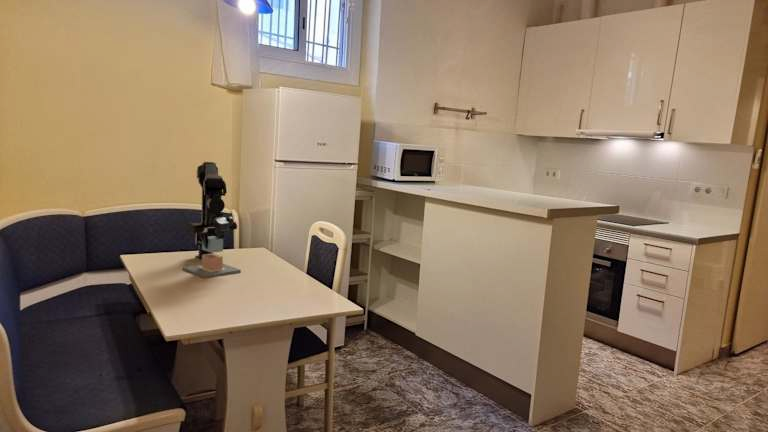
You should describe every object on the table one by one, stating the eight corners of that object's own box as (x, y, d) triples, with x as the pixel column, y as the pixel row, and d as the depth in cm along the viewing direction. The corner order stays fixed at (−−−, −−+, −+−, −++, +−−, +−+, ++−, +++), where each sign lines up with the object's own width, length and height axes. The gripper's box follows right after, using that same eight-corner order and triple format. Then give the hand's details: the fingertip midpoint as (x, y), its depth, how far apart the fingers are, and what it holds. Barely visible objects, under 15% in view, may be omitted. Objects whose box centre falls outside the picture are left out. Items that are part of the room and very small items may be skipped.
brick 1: (202, 249, 203) (202, 237, 202) (213, 248, 207) (213, 236, 206) (211, 252, 199) (211, 240, 198) (222, 251, 202) (223, 238, 202)
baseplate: (182, 269, 203) (182, 266, 203) (218, 264, 215) (218, 261, 215) (204, 278, 193) (204, 275, 193) (240, 272, 205) (240, 269, 205)
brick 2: (201, 266, 204) (202, 254, 203) (213, 265, 208) (213, 253, 207) (211, 270, 200) (211, 258, 199) (222, 268, 203) (222, 256, 203)
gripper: (202, 213, 188) (201, 254, 190) (245, 210, 202) (244, 249, 205) (187, 209, 195) (186, 248, 198) (229, 206, 210) (228, 244, 212)
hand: (212, 247), depth 203 cm, fingers closed on brick 1, 5 cm apart
